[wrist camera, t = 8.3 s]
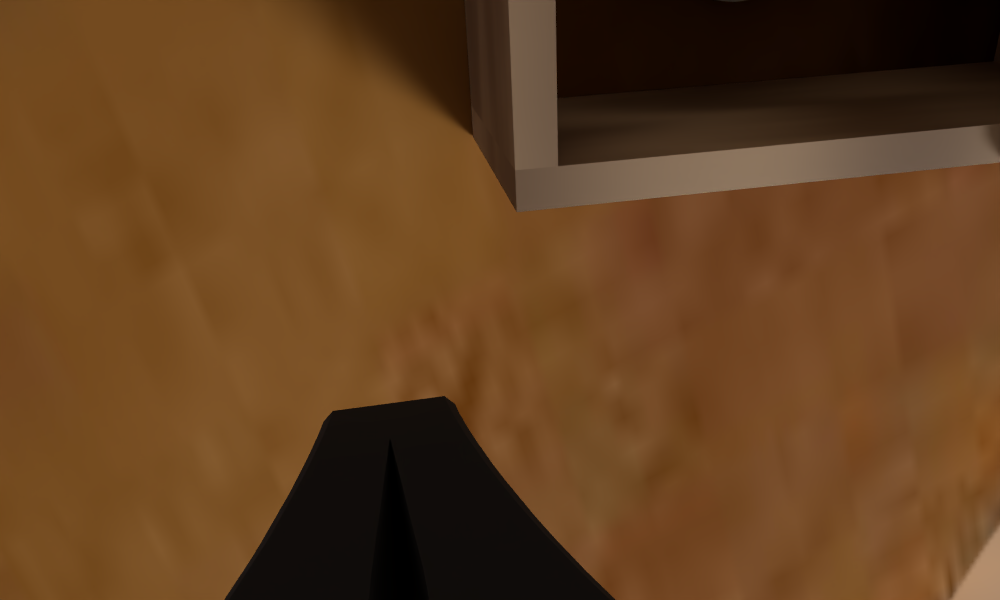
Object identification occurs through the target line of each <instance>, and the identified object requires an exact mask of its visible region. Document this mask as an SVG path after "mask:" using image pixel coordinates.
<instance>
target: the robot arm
mask: <svg viewBox="0 0 1000 600" xmlns="http://www.w3.org/2000/svg"><path fill="white" fill-rule="evenodd" d="M225 600H615V599H614V598H613V597H612V596H611V595H610V594H609V593H608V592H607V591H606V590H605V589H604V588H603V587H602V586H601V585H600V584H599V583H598V582H597V581H596V580H595V579H594V578H593V577H592V576H591V575H590V574H589V573H587V572H586V571H585V569H584V568H583V567H582V566H581V565H580V564H579V563H578V562H577V561H576V560H575V559H574V558H573V557H572V556H571V555H570V554H569V553H568V552H567V551H566V550H565V549H564V548H563V547H562V545H561V544H560V543H559V542H558V541H557V540H556V539H555V538H554V537H553V536H552V535H551V534H550V533H549V531H548V530H547V529H546V528H545V527H544V526H543V525H542V524H541V522H540V521H539V520H538V519H537V518H536V517H535V516H534V514H533V513H532V512H531V511H530V510H529V508H528V507H527V506H526V505H525V504H524V502H523V501H522V500H521V499H520V498H519V496H518V495H517V494H516V493H515V492H514V490H513V489H512V488H511V487H510V486H509V484H508V483H507V482H506V481H505V480H504V478H503V477H502V476H501V474H500V473H499V472H498V470H497V469H496V468H495V466H494V465H493V464H492V462H491V461H490V460H489V458H488V457H487V455H486V454H485V453H484V451H483V450H482V448H481V447H480V446H479V444H478V443H477V441H476V440H475V438H474V437H473V435H472V434H471V432H470V431H469V429H468V427H467V426H466V424H465V423H464V421H463V419H462V417H461V415H460V414H459V412H458V410H457V408H456V405H455V404H454V403H453V402H451V401H450V400H449V399H447V398H446V397H445V396H442V397H435V398H427V399H420V400H412V401H405V402H397V403H390V404H382V405H375V406H367V407H360V408H352V409H345V410H337V411H333V412H332V413H331V414H330V415H329V416H328V417H327V418H326V419H325V421H324V422H323V425H322V427H321V430H320V432H319V434H318V437H317V439H316V441H315V443H314V446H313V448H312V450H311V452H310V454H309V456H308V458H307V460H306V462H305V464H304V466H303V468H302V470H301V472H300V474H299V476H298V478H297V480H296V482H295V484H294V486H293V488H292V490H291V491H290V493H289V495H288V497H287V499H286V500H285V502H284V504H283V506H282V507H281V509H280V511H279V513H278V514H277V516H276V518H275V519H274V521H273V523H272V525H271V526H270V528H269V530H268V532H267V533H266V535H265V537H264V539H263V540H262V542H261V544H260V545H259V547H258V549H257V550H256V552H255V554H254V555H253V557H252V558H251V560H250V562H249V563H248V565H247V566H246V568H245V569H244V571H243V572H242V574H241V575H240V577H239V578H238V580H237V581H236V583H235V584H234V586H233V587H232V589H231V590H230V592H229V593H228V595H227V596H226V598H225Z"/></svg>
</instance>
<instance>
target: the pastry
mask: <svg viewBox="0 0 1000 600" xmlns="http://www.w3.org/2000/svg"><path fill="white" fill-rule="evenodd" d="M716 1H726V2H740V1H747V0H716Z"/></svg>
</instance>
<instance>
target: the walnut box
mask: <svg viewBox="0 0 1000 600" xmlns="http://www.w3.org/2000/svg"><path fill="white" fill-rule="evenodd" d="M464 1H465V16H466V32H467V48H468V63H469V79H470V95H471V111H472V126H473V138H474V139H475V141H476V143H477V144H478V146H479V148H480V150H481V151H482V153H483V155H484V156H485V158H486V160H487V162H488V163H489V165H490V167H491V168H492V170H493V172H494V174H495V175H496V177H497V179H498V180H499V182H500V184H501V186H502V187H503V189H504V191H505V193H506V194H507V196H508V198H509V199H510V201H511V203H512V205H513V206H514V208H515V210H516V211H517V212H523V211H532V210H542V209H552V208H561V207H571V206H581V205H591V204H600V203H610V202H620V201H629V200H639V199H649V198H658V197H668V196H678V195H688V194H697V193H707V192H717V191H726V190H736V189H746V188H755V187H765V186H775V185H785V184H794V183H804V182H814V181H823V180H833V179H843V178H852V177H862V176H872V175H882V174H891V173H901V172H911V171H920V170H930V169H940V168H949V167H959V166H969V165H979V164H988V163H998V162H1000V34H999V39H998V43H997V48H996V52H995V57H994V61H993V62H981V63H969V64H957V65H945V66H933V67H921V68H909V69H898V70H886V71H874V72H862V73H850V74H838V75H826V76H814V77H802V78H790V79H779V80H767V81H755V82H743V83H731V84H719V85H707V86H695V87H683V88H671V89H660V90H648V91H636V92H624V93H612V94H600V95H588V96H576V97H564V98H557V66H556V1H555V0H464Z"/></svg>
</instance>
